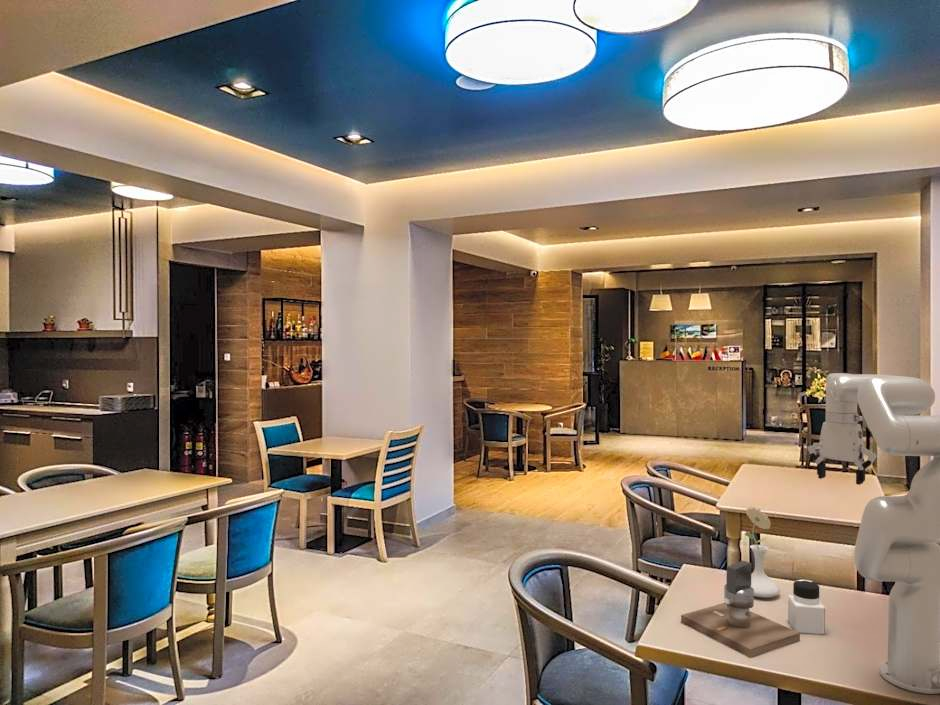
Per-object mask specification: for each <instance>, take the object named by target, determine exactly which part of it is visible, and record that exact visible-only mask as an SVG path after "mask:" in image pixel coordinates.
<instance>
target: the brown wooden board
mask: <svg viewBox="0 0 940 705" xmlns="http://www.w3.org/2000/svg"><path fill="white" fill-rule="evenodd" d="M680 622H681V623H682V624H683V623H684V625H685V624H686V626H687V627H690V628H691V629H694V630H695V631H698V632H700V633H701V634H703V635H706V636H708V637H709V638H712V639H713V640H715V641H717V642H719V643H721V644H723V645H725V646H727V647H728V648H731V649H733V650H735V651H736V652H739V653H741V654H743V655H744V656H747V657H749V658H750V659H751V658H754V657H756V656H760V655H763V654H765V653H768V652H769V653H770V652H771V651H774V650H777V649H780V648H783V647H785V646H788V645H792V644H794V643H797V642H800V641H801V633H799V632H797V631H795V630H794V629H793V628H790V627H788V626H785V625H784V624H781V623H778V622H776V621H774V620H771V619H769V618H767V617H765V616H762V615H760V614H758V613H756V612H753V611H751V610H750V608H749V609H739V608H734V607H731V606H728V605H727V604H725V603H724V602H723V603H722V602H721V603H719V604H715V605H712V606H711V605H710V606H708V607H705V608H704V607H703V608H701V609H697V610H694V611H691V612H687V613H684V614H680Z"/></svg>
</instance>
